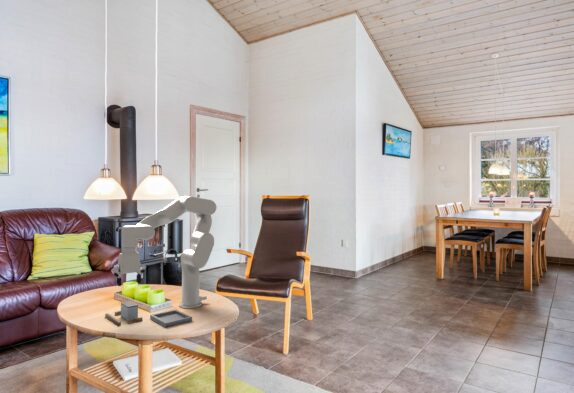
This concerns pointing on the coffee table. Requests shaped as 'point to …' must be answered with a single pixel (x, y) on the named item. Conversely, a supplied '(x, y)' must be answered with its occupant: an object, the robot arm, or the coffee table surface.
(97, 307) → the coffee table surface
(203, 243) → the robot arm
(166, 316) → the tray
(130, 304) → the grey rectangular block
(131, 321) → the set of brown sticks
